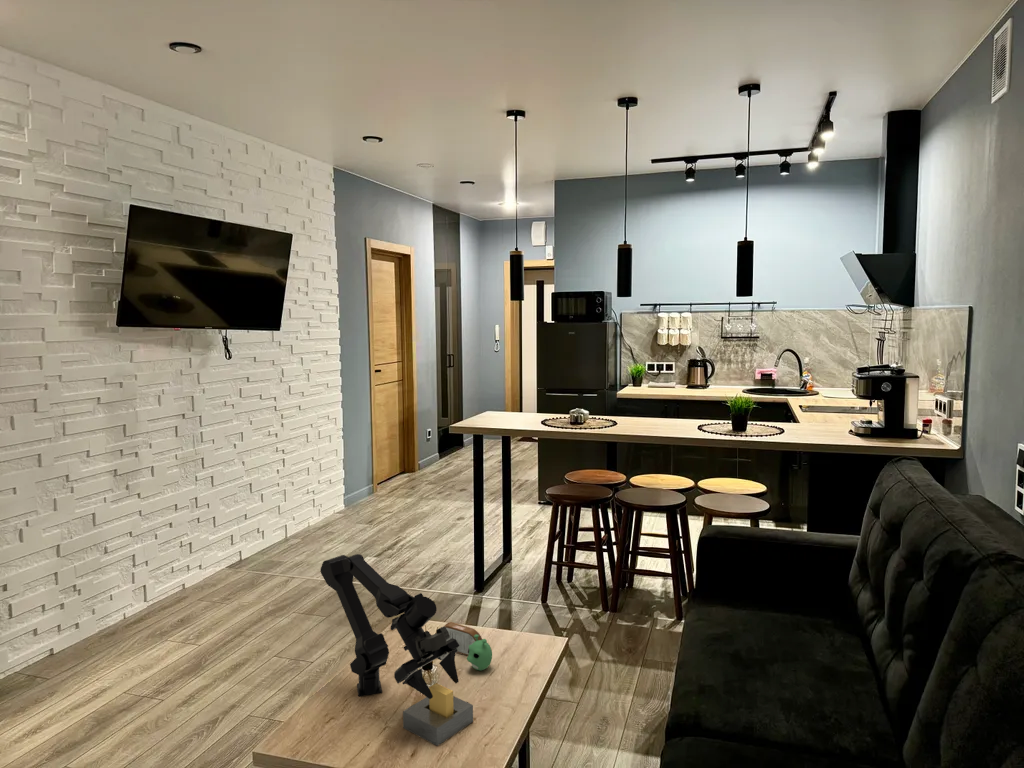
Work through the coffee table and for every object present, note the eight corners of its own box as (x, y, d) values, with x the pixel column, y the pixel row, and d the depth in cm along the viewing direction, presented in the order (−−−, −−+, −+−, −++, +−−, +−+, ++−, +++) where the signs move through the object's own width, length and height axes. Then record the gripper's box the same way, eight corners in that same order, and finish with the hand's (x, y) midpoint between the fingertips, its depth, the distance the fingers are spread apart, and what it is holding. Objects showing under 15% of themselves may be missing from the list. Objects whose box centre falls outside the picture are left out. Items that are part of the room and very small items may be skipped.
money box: (403, 728, 177) (402, 711, 177) (439, 705, 187) (439, 689, 187) (437, 746, 170) (436, 728, 169) (473, 721, 180) (472, 704, 179)
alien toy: (462, 668, 207) (461, 636, 206) (483, 660, 211) (483, 628, 210) (475, 678, 201) (474, 644, 200) (497, 670, 206) (496, 637, 205)
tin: (483, 656, 214) (483, 629, 213) (477, 660, 211) (477, 633, 211) (444, 644, 222) (444, 618, 221) (438, 648, 219) (438, 622, 219)
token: (429, 724, 179) (429, 687, 178) (436, 720, 180) (436, 683, 179) (446, 733, 175) (446, 695, 174) (453, 728, 177) (453, 690, 176)
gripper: (401, 633, 170) (434, 691, 164) (454, 608, 185) (486, 661, 179) (380, 654, 176) (411, 711, 170) (433, 628, 190) (463, 680, 185)
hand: (444, 690), depth 176 cm, fingers open, 9 cm apart
